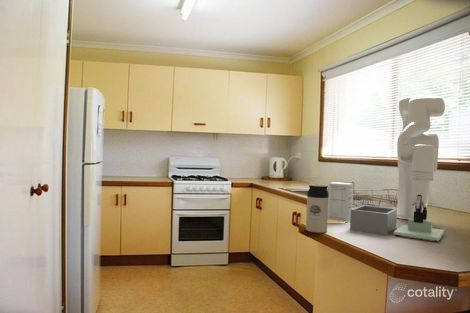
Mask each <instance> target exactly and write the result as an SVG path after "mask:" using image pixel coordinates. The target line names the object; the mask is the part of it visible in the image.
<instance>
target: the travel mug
mask: <svg viewBox="0 0 470 313" xmlns="http://www.w3.org/2000/svg"><path fill="white" fill-rule="evenodd" d="M308 188H309V189H308V191H307V194H306V195H307V198H306V219H305V231H308V232H310V233H316V234H322V233H323V234H324V233H326V232H328V220H329V219H328V198H329V193H328V191H329V190H328V188H329V184H326V183H314V182H313V183H308Z"/></svg>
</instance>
